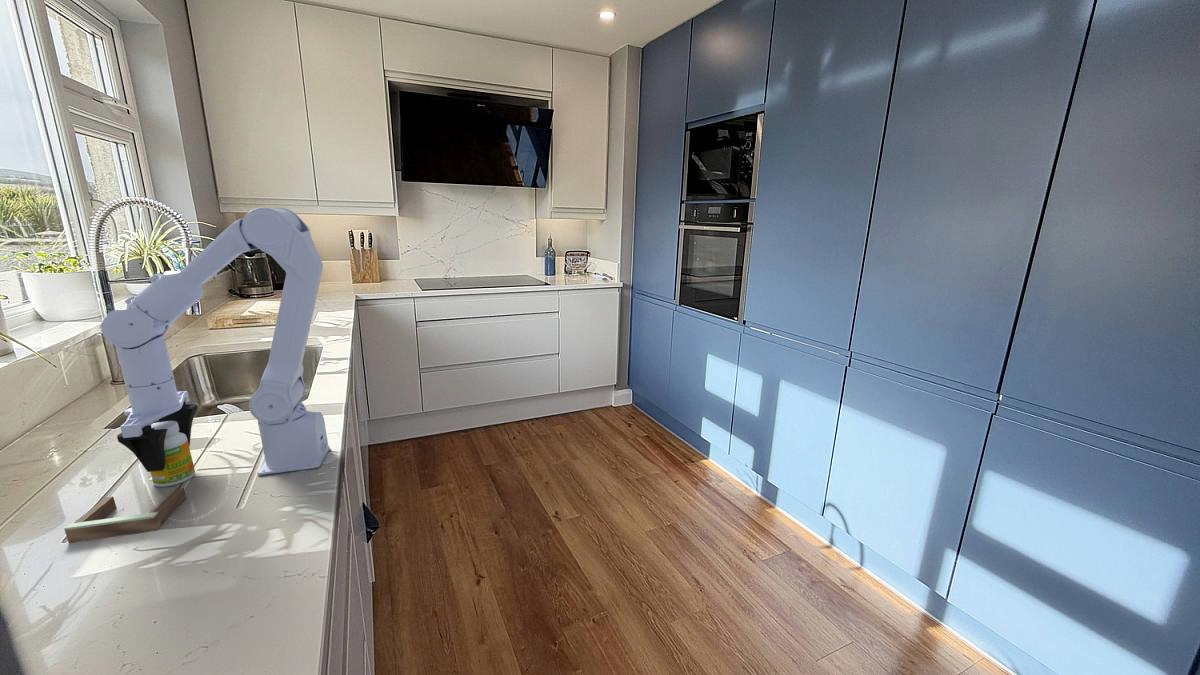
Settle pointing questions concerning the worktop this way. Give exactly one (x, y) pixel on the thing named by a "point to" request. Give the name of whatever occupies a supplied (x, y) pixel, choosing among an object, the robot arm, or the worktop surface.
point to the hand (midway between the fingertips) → (169, 458)
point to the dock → (121, 519)
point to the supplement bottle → (174, 457)
